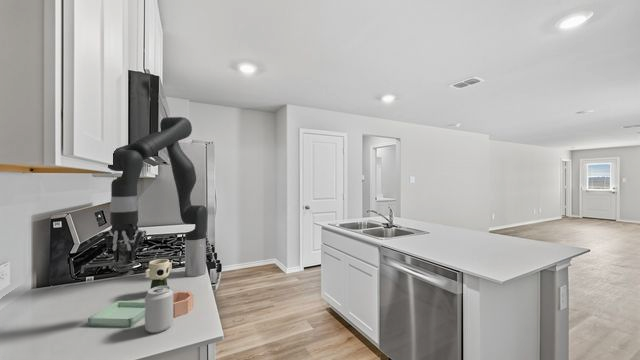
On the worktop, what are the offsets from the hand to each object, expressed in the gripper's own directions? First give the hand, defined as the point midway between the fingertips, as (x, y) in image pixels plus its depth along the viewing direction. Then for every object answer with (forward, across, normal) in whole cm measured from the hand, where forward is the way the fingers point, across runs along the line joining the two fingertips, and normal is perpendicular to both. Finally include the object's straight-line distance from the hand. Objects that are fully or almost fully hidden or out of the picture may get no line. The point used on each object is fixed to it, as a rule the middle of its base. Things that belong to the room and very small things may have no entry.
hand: (124, 260), depth 89 cm
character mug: (+19, 0, -18) cm, 26 cm away
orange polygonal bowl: (+19, -15, -5) cm, 24 cm away
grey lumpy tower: (+5, 0, 0) cm, 5 cm away
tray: (+19, 0, 0) cm, 19 cm away
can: (+19, -16, +6) cm, 26 cm away
